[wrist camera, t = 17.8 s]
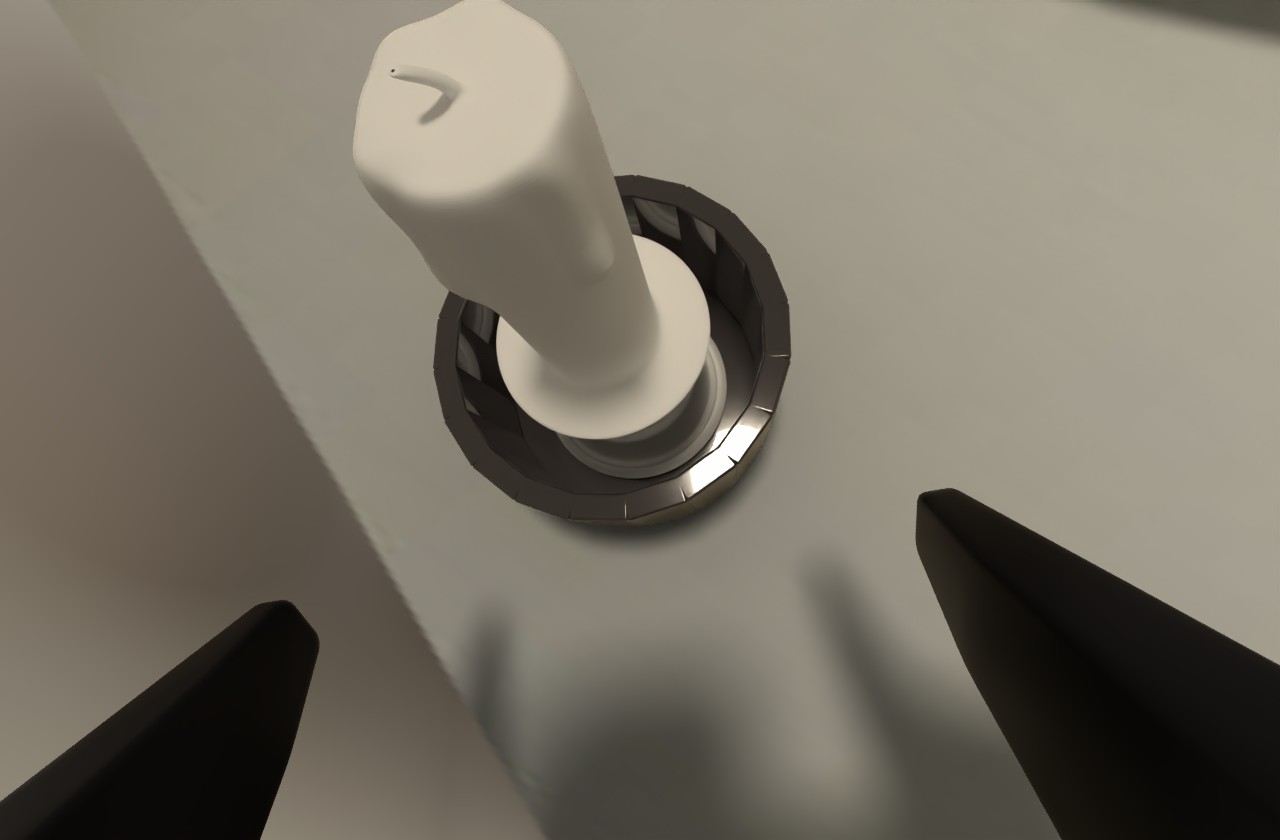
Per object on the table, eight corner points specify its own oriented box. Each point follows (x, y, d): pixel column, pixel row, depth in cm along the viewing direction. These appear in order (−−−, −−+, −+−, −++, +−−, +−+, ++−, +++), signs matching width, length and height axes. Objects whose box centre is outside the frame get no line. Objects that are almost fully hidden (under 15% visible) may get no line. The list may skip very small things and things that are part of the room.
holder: (663, 586, 16) (639, 603, 12) (453, 420, 18) (366, 381, 14) (830, 352, 17) (866, 286, 12) (610, 218, 19) (575, 120, 14)
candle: (617, 517, 16) (327, 453, 4) (516, 377, 17) (91, 48, 6) (765, 402, 16) (863, 39, 4) (652, 271, 17) (505, -264, 6)
